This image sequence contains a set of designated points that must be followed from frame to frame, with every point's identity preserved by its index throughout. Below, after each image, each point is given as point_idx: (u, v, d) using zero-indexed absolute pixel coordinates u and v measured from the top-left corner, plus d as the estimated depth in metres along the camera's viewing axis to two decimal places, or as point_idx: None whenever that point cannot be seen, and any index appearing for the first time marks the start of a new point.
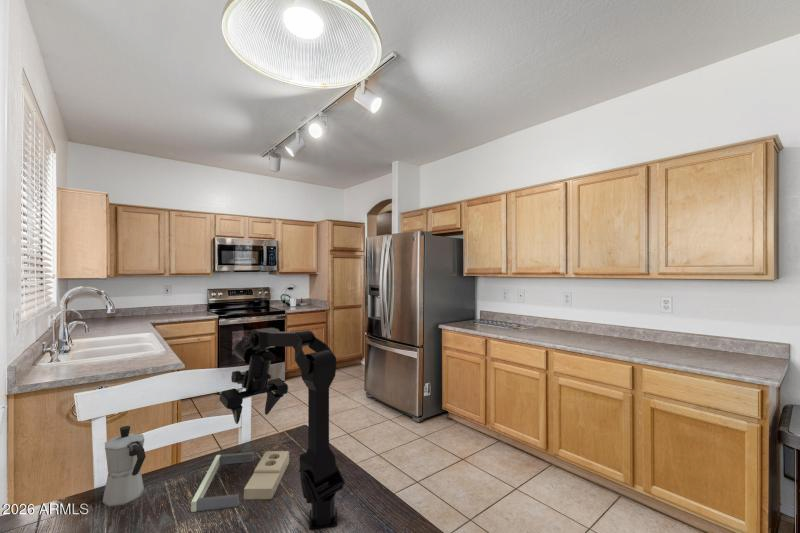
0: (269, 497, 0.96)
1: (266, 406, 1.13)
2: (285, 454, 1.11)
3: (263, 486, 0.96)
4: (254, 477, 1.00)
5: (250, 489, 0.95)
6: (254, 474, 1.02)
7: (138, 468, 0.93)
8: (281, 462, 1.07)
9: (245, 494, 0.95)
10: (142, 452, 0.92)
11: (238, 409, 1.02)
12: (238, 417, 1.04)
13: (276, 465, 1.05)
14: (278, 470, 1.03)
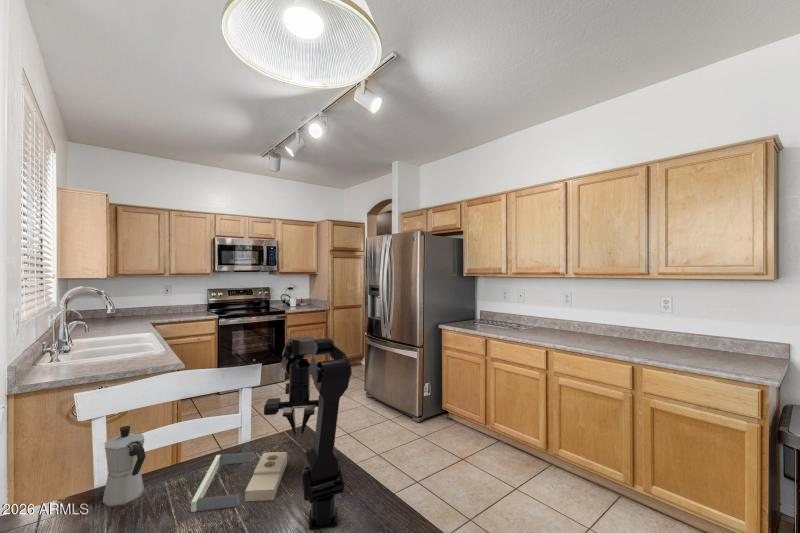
0: (271, 498, 0.95)
1: None
2: (283, 455, 1.11)
3: (264, 487, 0.96)
4: (254, 479, 0.99)
5: (251, 491, 0.95)
6: (254, 476, 1.01)
7: (138, 468, 0.93)
8: (280, 463, 1.06)
9: (246, 496, 0.94)
10: (142, 452, 0.92)
11: (289, 417, 1.03)
12: (293, 427, 1.05)
13: (276, 466, 1.04)
14: (278, 471, 1.03)
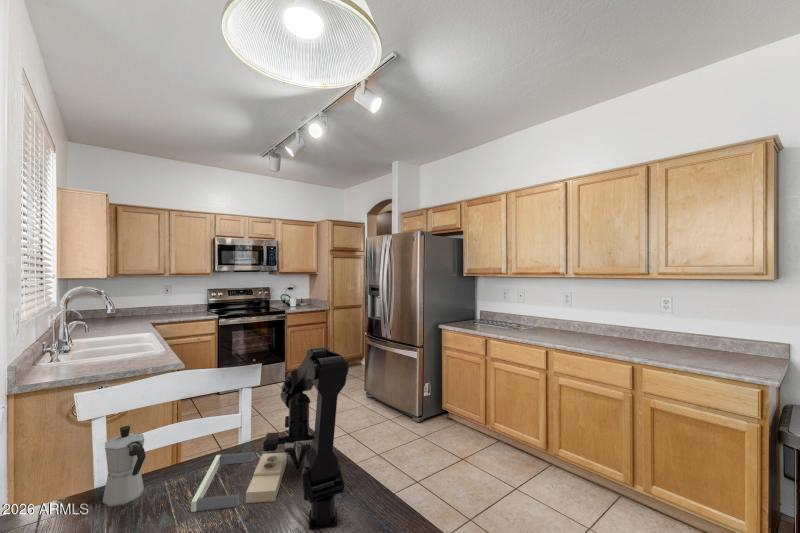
0: (272, 499, 0.95)
1: None
2: (283, 456, 1.10)
3: (265, 489, 0.95)
4: (254, 481, 0.99)
5: (252, 492, 0.94)
6: (254, 477, 1.00)
7: (138, 468, 0.93)
8: (280, 464, 1.06)
9: (247, 497, 0.94)
10: (142, 452, 0.92)
11: (291, 452, 1.03)
12: (295, 462, 1.05)
13: (276, 467, 1.04)
14: (279, 472, 1.02)
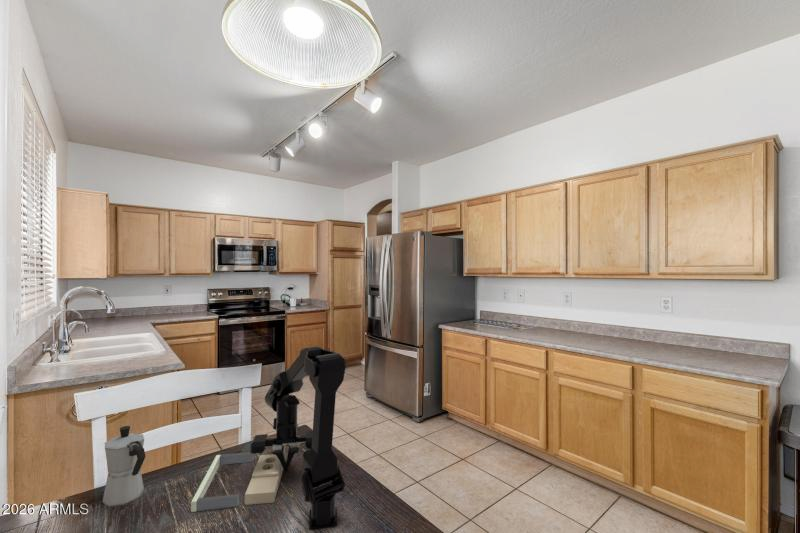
0: (271, 501, 0.94)
1: None
2: None
3: (264, 490, 0.95)
4: (253, 482, 0.98)
5: (251, 494, 0.93)
6: (252, 479, 1.00)
7: (138, 468, 0.93)
8: (279, 465, 1.05)
9: (246, 500, 0.93)
10: (142, 452, 0.92)
11: (279, 454, 1.03)
12: (283, 464, 1.04)
13: (274, 468, 1.03)
14: (277, 473, 1.01)
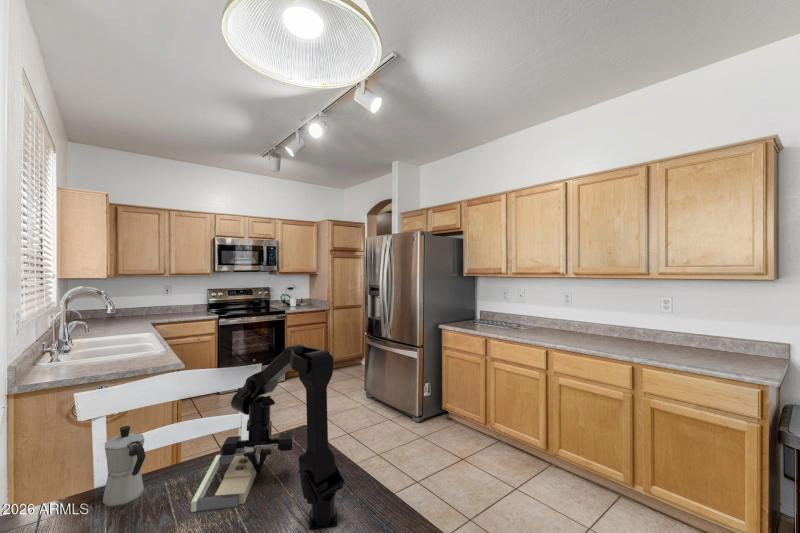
0: (242, 502, 0.94)
1: (259, 464, 1.05)
2: None
3: (235, 491, 0.94)
4: (224, 483, 0.97)
5: (221, 495, 0.93)
6: (224, 480, 0.99)
7: (138, 468, 0.93)
8: (252, 466, 1.04)
9: None
10: (142, 452, 0.92)
11: (250, 456, 1.01)
12: (255, 466, 1.03)
13: (247, 469, 1.03)
14: (249, 474, 1.01)
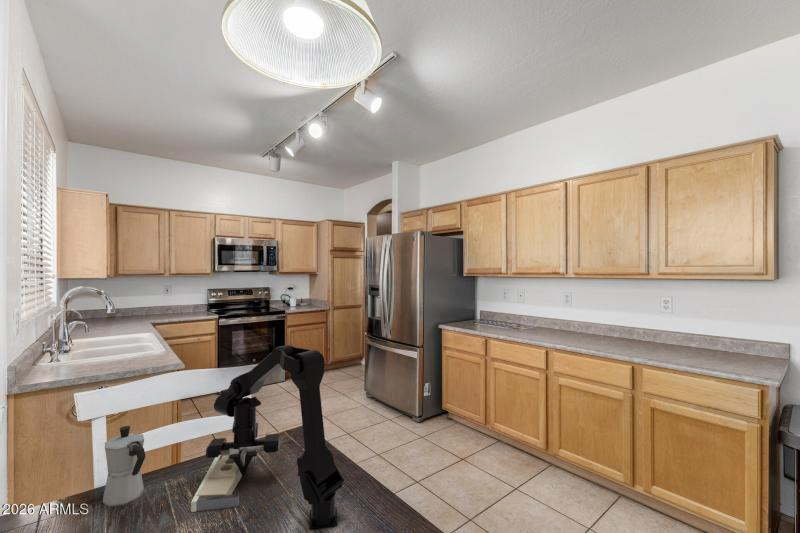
0: None
1: None
2: None
3: (217, 492, 0.94)
4: (208, 483, 0.97)
5: (203, 495, 0.92)
6: (208, 480, 0.99)
7: (138, 468, 0.93)
8: None
9: None
10: (142, 452, 0.92)
11: (235, 458, 1.00)
12: (240, 468, 1.02)
13: (232, 470, 1.02)
14: (234, 475, 1.00)
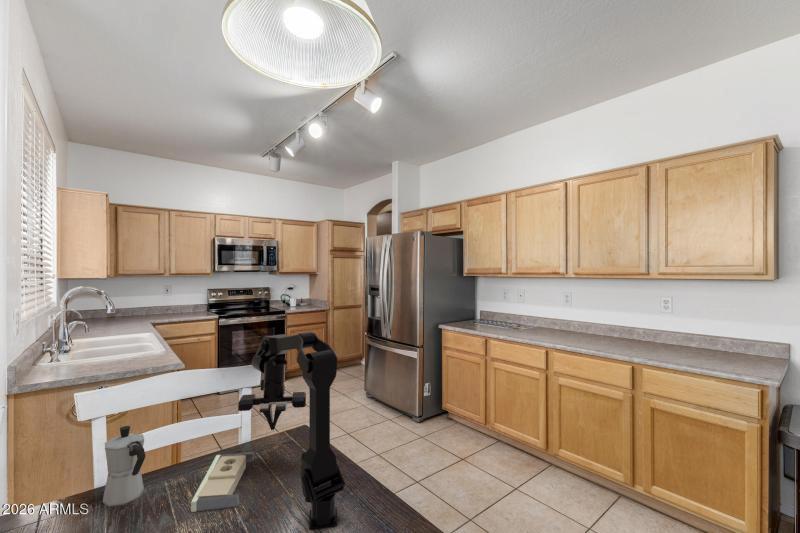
0: None
1: None
2: (242, 458, 1.08)
3: (217, 493, 0.93)
4: (208, 484, 0.97)
5: (204, 496, 0.92)
6: (208, 481, 0.98)
7: (138, 468, 0.93)
8: (237, 467, 1.04)
9: None
10: (142, 452, 0.92)
11: (265, 412, 1.06)
12: (269, 422, 1.08)
13: (232, 470, 1.02)
14: (234, 475, 1.00)
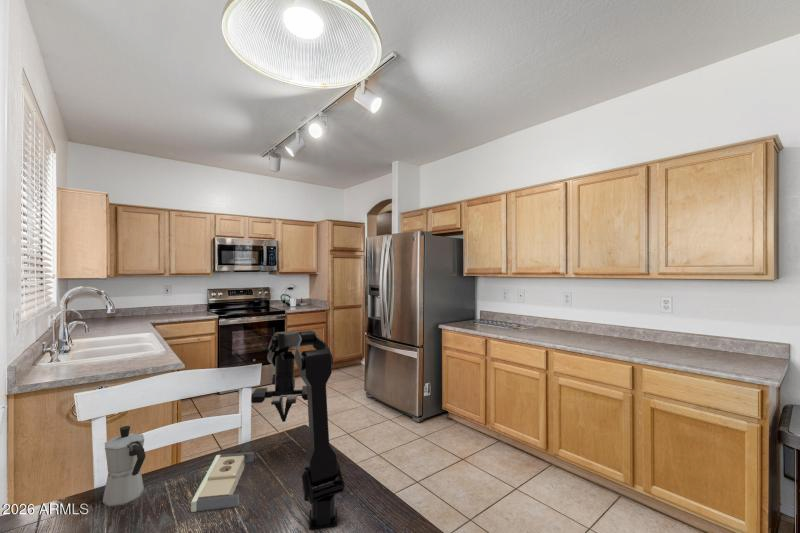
0: None
1: None
2: (240, 458, 1.08)
3: (219, 493, 0.93)
4: (208, 485, 0.97)
5: (205, 497, 0.92)
6: (208, 481, 0.98)
7: (138, 468, 0.93)
8: (237, 467, 1.04)
9: None
10: (142, 452, 0.92)
11: (277, 404, 1.12)
12: (281, 414, 1.13)
13: (232, 470, 1.02)
14: (234, 475, 1.00)
